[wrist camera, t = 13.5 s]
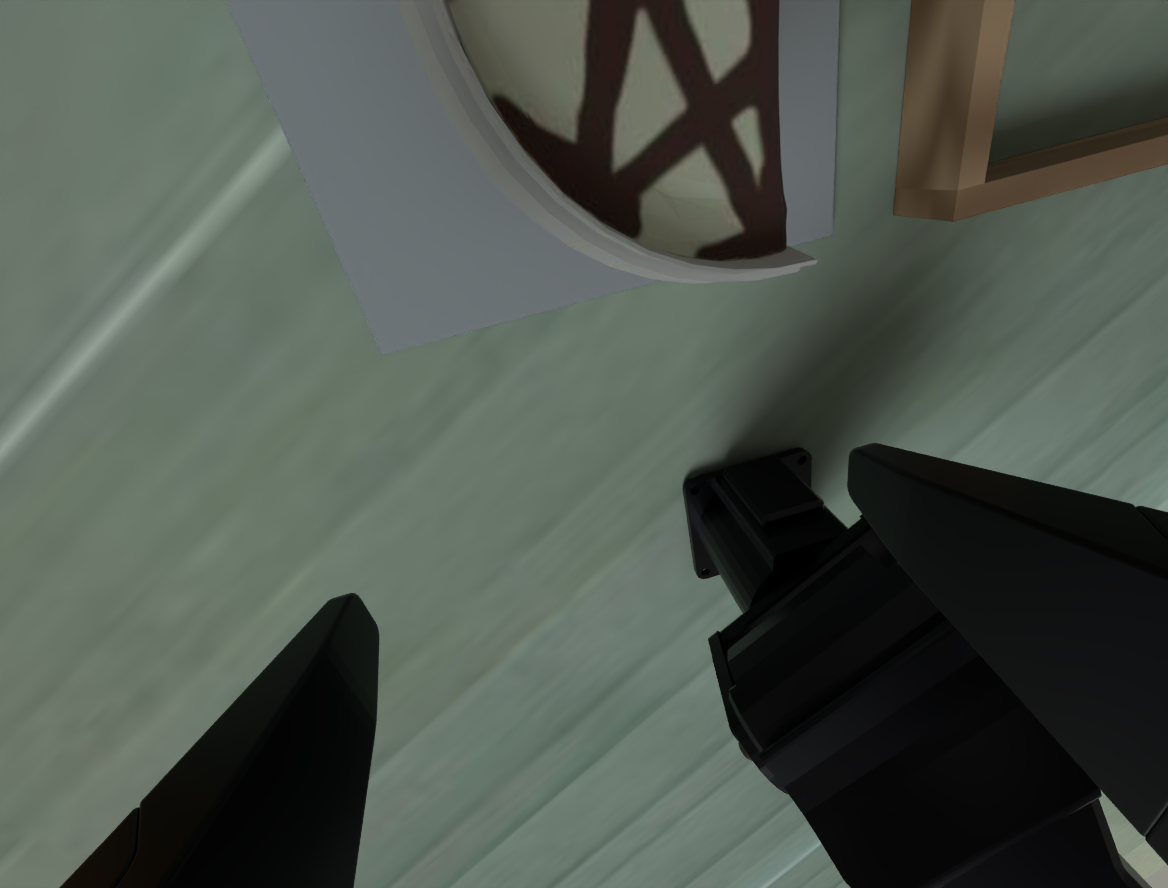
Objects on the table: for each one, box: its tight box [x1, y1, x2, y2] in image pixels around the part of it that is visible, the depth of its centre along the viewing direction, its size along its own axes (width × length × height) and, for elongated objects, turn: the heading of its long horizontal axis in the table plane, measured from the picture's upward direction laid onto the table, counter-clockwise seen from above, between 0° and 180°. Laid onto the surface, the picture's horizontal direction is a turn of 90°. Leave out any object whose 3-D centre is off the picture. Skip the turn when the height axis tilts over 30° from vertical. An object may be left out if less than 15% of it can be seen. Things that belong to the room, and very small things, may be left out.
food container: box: [397, 0, 817, 283], centre depth 11 cm, size 12×6×10 cm, turn 15°
